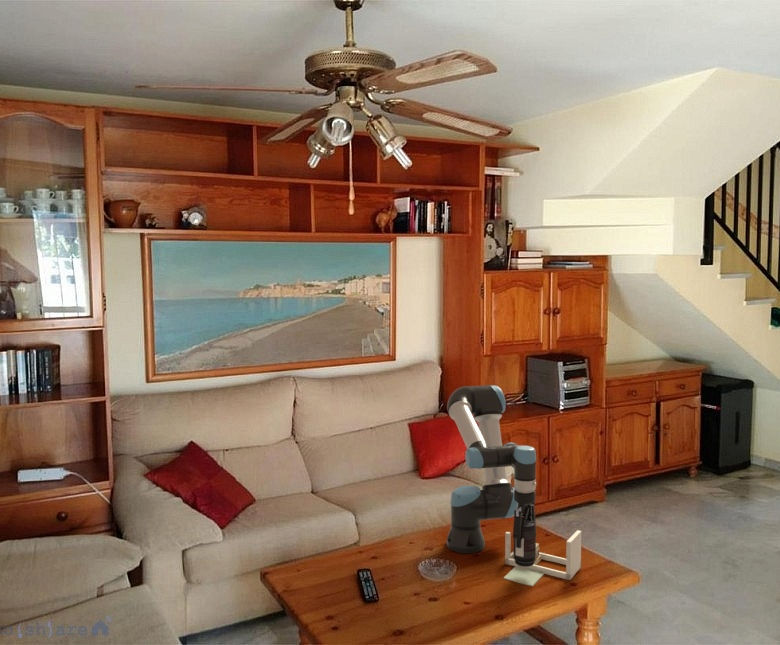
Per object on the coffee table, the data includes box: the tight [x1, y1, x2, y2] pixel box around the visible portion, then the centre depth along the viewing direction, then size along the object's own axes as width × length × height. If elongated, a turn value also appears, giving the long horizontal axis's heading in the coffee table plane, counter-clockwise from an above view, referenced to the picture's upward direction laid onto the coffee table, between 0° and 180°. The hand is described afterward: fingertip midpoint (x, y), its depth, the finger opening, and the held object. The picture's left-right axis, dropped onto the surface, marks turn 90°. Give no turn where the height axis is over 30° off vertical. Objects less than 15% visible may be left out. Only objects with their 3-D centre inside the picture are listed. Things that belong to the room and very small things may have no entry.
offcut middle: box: [534, 548, 540, 562], centre depth 264 cm, size 7×7×2 cm
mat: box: [503, 566, 545, 587], centre depth 252 cm, size 11×11×1 cm
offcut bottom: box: [513, 555, 542, 565], centre depth 264 cm, size 8×8×2 cm
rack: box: [504, 529, 582, 581], centre depth 260 cm, size 25×12×14 cm, turn 57°
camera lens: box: [512, 520, 537, 567], centre depth 251 cm, size 8×8×15 cm
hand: (524, 551), depth 251 cm, fingers closed on camera lens, 8 cm apart
